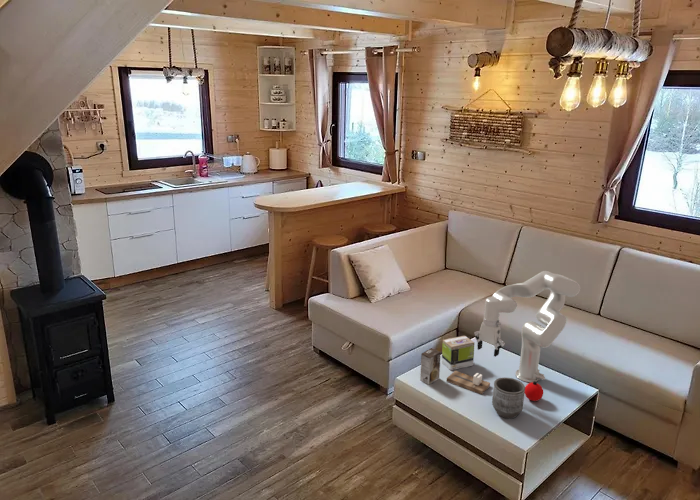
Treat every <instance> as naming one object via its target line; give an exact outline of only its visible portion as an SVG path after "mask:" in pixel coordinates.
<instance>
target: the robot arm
mask: <svg viewBox="0 0 700 500" xmlns="http://www.w3.org/2000/svg"><path fill="white" fill-rule="evenodd" d="M545 290H549V291H550V293H549V296H548V298H547V299H546V300H545V302H544V303H543V304H542V306H540V308H539V309H538V310H537V313H535V318H536V320H537V321H538V322H539V323H541V324H542V325H541V324H539V323H537V322H535V321H531V320H530V321H526V322H524V324H523V325H522V327H521V332H520V333H521V350H520V359H519V367H518V369H517V370H516V371H515V373H514V374H515V377H516V379H517V380H518V379H519V381H521V382H522V381H523V382H525V383H532V382H534V381H535V382H537V383H538V381H540V380H542V381H545V380H546V376H545V374H543V373H540V369H539V365H540V363H539V362H540V357H541V348H542V349H543V348H544V349H545V348H549V347H550V346H551V345H552V344H553V343H554V341H555V340H556V339H557V338H558V337H559V335H560V334H561V333H562V331H563V330H564V329H565V327H566V324H567V319H566V316H565V315H564V314H563V313H562V312H560V311H561V310H562V309H563V307H564V306H565V303H566V297H568V298H574V297H576V296H577V295H578V294H579V293H580V291H581V285H580V284H579V282H578V281H576V280H574V279H571V278H570V277H567V276H565V275H562V274H559V273H553V272H551V271H548V270H542V271H540V272H539V273H537V274H535V275H534V276H533V277H531V278H528V279H527V280H525V281H523V282H519V283H513V284H509V285H505V286H503V287H501V288H499V289H498V290H496V291H495V292H494V293H493V294H492V296H488V297H487V298H485V302H484V311H483V320H482V322H481V325H480V328H479V330H477V331H474V333H473V334H474V338H475V339H476V342H477V345H476V347H477V350H478V351H479V350H481V349H482V348H483V342H484V343H487V344H490V345H492V346H494V350H493V351H494V352H493V357H494V358H495V357H497V356H499V354H500V350H501V348H503V347H504V346H505V344H506V343H505V341H503V339H502V338H501V337H502V336H501V334H502V333H501V325H502V322H500V314H502V313H503V314H511V313H514V312H515V311H516V310H517V308H518V304H517V301H516V300H514V298H515V297H518V298H519V297H521V298H533V297H536V295H538V294H540V293H542V292H543V291H545ZM543 325H544V326H545V327H544V326H543Z"/></svg>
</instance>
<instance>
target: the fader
mask: <svg viewBox="0 0 700 500" xmlns="http://www.w3.org/2000/svg"><path fill="white" fill-rule="evenodd" d="M472 377H473V384H475V385H479V384H480V383H481V382H482V380H483V374H481V373H479V372H476V373H475V374H474V375H473V376H472Z"/></svg>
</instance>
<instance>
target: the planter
mask: <svg viewBox="0 0 700 500" xmlns="http://www.w3.org/2000/svg"><path fill="white" fill-rule="evenodd" d="M525 387H526V385H525V384H524V383H523V382H522V381H521V380H518V379H517V378H516V379H515V378H512V377H498V378H496V379H495V380H494V382H493V389H492V390H493V391H492V399H491V400H492V401H491V403H492V404H491V405H492V407H493V409H494V411H495V412H496V414H497V416H500V417H502V418H504V419H514V418H516V417H517V416H518V415H519V414H520V413H521V412H522V411H523V410H524V409H523V408H524V403H525V402H524V401H525V400H524V399H525Z"/></svg>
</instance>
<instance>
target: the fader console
mask: <svg viewBox="0 0 700 500" xmlns="http://www.w3.org/2000/svg"><path fill="white" fill-rule="evenodd" d="M446 382H447V383H450V384H451V385H456V386H458V387H460V388H463V389H466V390H468V391H471V392H473V393H474V392H475V393H476V394H479V395H483V394H484V393H485V392H486V391H487V390H488V389H489V388H490V386H491V383H490V382H489V381H486V380H483V379H482V382H481V383H480V384H479V385H475V384H473V376H472V375H469V374H466V373H463V372H460V371H458V370H457V369H454V371H453V372H452V373H451V374H450V375H448V376H447V377H446Z"/></svg>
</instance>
